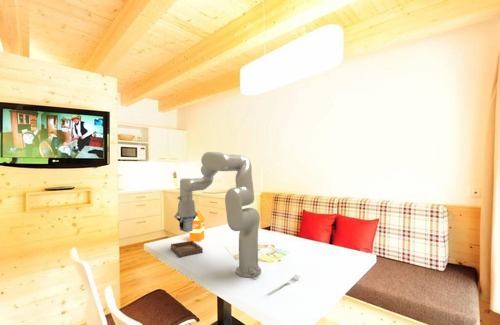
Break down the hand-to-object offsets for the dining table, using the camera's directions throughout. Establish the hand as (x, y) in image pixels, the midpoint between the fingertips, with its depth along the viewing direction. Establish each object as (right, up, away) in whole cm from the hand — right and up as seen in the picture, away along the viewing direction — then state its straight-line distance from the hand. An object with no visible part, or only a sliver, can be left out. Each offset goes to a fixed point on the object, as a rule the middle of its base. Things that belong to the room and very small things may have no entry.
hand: (186, 227), depth 157 cm
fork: (+54, -15, -47) cm, 73 cm away
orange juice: (+2, -15, +23) cm, 28 cm away
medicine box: (0, -2, 0) cm, 2 cm away
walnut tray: (0, -15, 0) cm, 15 cm away
